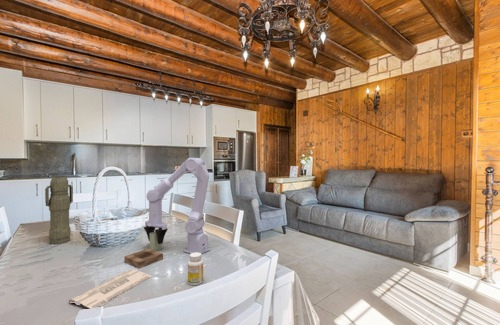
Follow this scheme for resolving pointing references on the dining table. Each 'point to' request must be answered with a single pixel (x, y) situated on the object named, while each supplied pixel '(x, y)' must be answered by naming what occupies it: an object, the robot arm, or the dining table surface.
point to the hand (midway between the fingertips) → (155, 241)
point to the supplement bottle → (195, 269)
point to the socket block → (143, 258)
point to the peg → (154, 242)
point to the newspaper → (111, 288)
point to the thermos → (59, 209)
